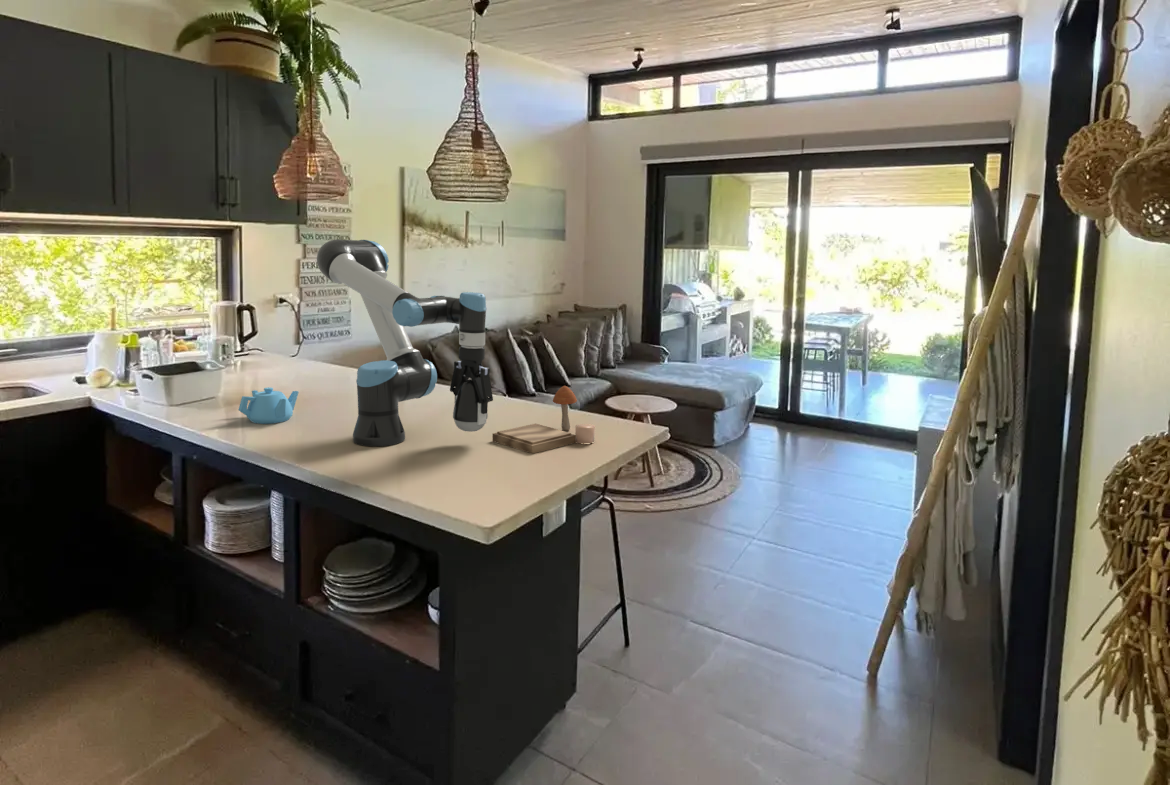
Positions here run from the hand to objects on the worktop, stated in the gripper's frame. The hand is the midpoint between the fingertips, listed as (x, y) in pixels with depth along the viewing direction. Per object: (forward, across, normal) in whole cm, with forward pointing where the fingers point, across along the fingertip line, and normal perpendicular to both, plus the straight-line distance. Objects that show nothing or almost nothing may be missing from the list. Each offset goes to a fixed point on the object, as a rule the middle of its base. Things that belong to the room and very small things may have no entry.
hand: (470, 420), depth 214 cm
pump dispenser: (+3, 0, 0) cm, 3 cm away
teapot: (+10, -66, -31) cm, 74 cm away
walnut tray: (+7, +11, +16) cm, 21 cm away
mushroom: (+7, +7, +33) cm, 35 cm away
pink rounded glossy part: (+7, +21, +28) cm, 36 cm away
